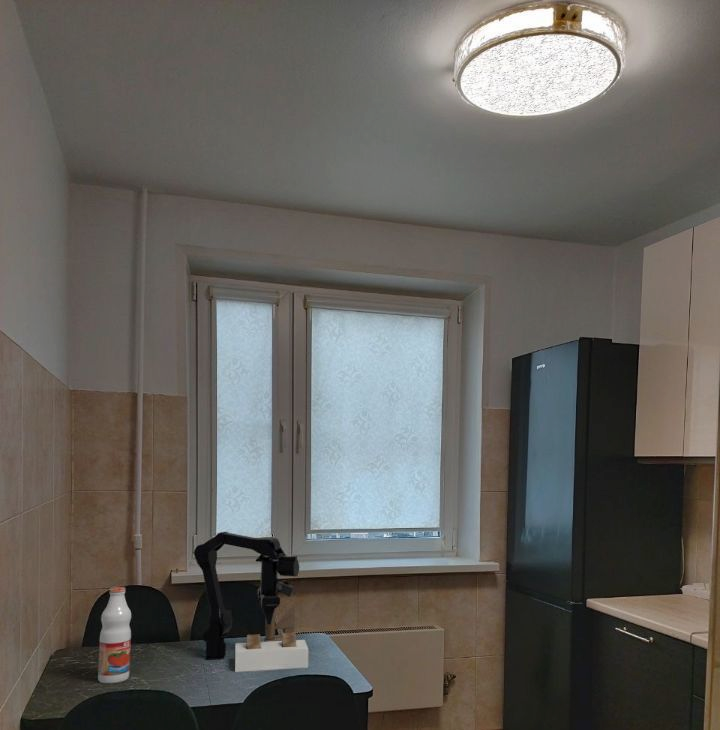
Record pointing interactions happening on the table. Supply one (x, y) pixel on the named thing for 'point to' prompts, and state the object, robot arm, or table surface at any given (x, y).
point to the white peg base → (271, 656)
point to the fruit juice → (115, 639)
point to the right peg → (288, 639)
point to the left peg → (253, 641)
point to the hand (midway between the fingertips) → (267, 621)
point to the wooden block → (279, 626)
